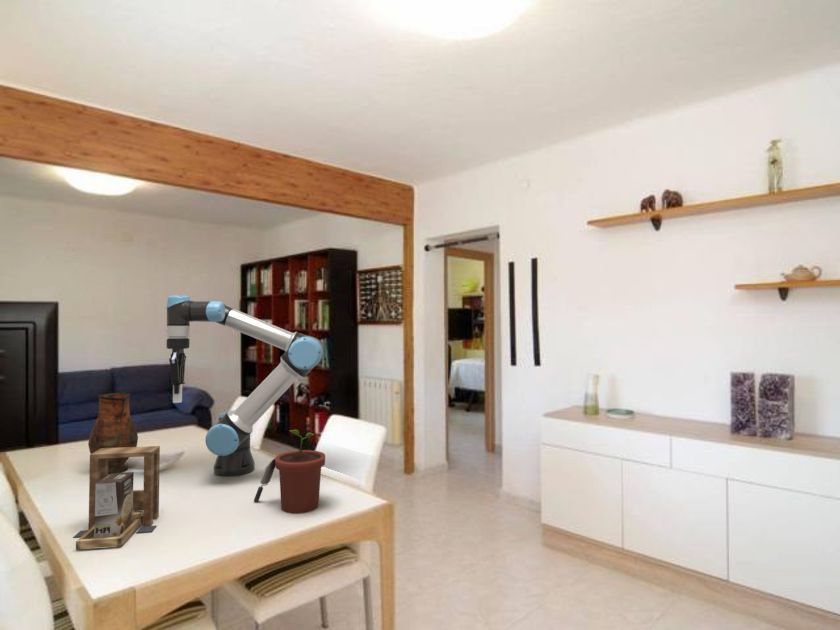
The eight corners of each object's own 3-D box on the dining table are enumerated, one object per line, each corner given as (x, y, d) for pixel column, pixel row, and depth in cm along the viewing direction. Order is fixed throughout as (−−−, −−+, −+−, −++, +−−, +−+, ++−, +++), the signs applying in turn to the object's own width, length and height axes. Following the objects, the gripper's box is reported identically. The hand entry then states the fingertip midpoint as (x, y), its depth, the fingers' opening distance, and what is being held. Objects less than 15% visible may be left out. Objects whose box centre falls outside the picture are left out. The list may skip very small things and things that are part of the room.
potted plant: (283, 522, 143) (284, 437, 143) (252, 502, 159) (253, 425, 159) (335, 507, 155) (336, 428, 155) (301, 489, 171) (302, 418, 171)
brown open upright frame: (158, 516, 146) (159, 446, 147) (150, 526, 139) (151, 452, 140) (99, 520, 143) (101, 448, 143) (88, 530, 136) (89, 454, 137)
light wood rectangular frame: (155, 508, 151) (155, 489, 152) (121, 545, 126) (121, 522, 126) (118, 510, 149) (118, 491, 149) (75, 549, 124) (76, 525, 124)
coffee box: (120, 542, 129) (121, 481, 129) (93, 544, 128) (94, 483, 128) (133, 528, 138) (134, 471, 138) (108, 530, 137) (109, 472, 137)
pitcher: (97, 480, 180) (99, 398, 180) (77, 469, 193) (78, 393, 193) (145, 469, 193) (146, 393, 193) (123, 460, 206) (124, 389, 206)
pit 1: (96, 530, 136) (96, 529, 136) (89, 536, 132) (89, 535, 132) (80, 531, 135) (80, 530, 135) (73, 538, 131) (73, 536, 131)
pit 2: (156, 526, 139) (156, 525, 139) (151, 532, 135) (151, 531, 135) (141, 527, 138) (141, 526, 138) (136, 533, 134) (136, 532, 134)
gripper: (172, 337, 183) (171, 400, 183) (161, 338, 170) (160, 405, 170) (193, 337, 185) (193, 399, 184) (184, 338, 172) (183, 405, 172)
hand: (177, 402), depth 177 cm, fingers closed
